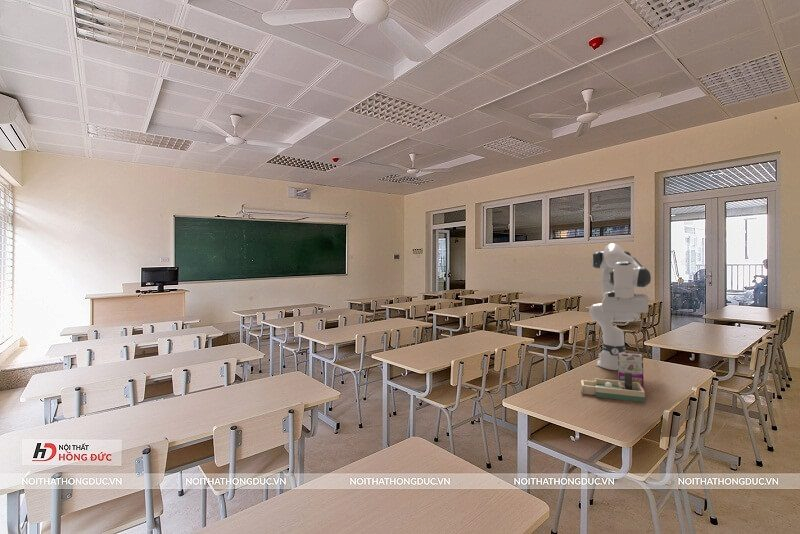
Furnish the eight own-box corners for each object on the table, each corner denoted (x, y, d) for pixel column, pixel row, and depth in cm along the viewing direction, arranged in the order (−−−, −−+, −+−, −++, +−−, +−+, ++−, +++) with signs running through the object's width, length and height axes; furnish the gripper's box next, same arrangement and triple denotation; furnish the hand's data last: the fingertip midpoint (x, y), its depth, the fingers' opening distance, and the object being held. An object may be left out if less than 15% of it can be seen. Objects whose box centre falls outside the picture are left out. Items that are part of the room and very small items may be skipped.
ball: (604, 387, 183) (604, 380, 183) (611, 387, 182) (611, 381, 181) (605, 389, 180) (605, 382, 180) (612, 390, 179) (612, 383, 179)
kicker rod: (618, 387, 181) (617, 371, 181) (631, 388, 179) (631, 372, 179) (619, 390, 177) (619, 374, 176) (633, 392, 174) (633, 375, 174)
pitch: (580, 385, 192) (580, 376, 192) (639, 391, 181) (638, 382, 181) (582, 395, 179) (582, 385, 179) (645, 402, 169) (644, 392, 169)
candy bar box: (642, 384, 192) (642, 353, 191) (643, 387, 187) (643, 356, 187) (618, 381, 197) (617, 351, 196) (618, 384, 192) (618, 353, 192)
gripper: (647, 293, 182) (647, 321, 182) (600, 293, 191) (601, 319, 190) (649, 294, 177) (650, 322, 176) (601, 293, 185) (602, 321, 185)
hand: (624, 321), depth 184 cm, fingers open, 8 cm apart
